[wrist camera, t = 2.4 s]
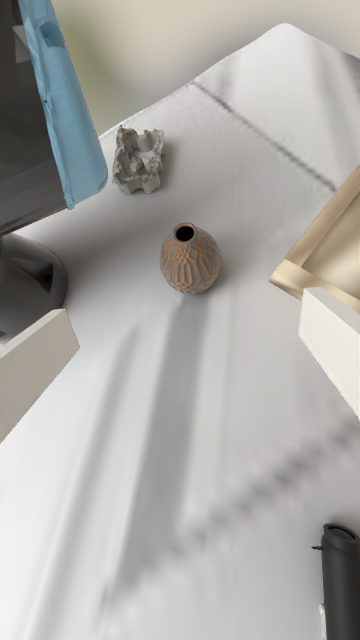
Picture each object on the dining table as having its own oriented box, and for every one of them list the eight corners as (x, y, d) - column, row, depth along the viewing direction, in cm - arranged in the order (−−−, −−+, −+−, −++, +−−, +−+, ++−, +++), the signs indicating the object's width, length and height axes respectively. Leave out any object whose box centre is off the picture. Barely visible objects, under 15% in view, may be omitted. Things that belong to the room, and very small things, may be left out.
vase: (157, 282, 30) (134, 241, 22) (189, 245, 31) (180, 192, 23) (197, 311, 28) (190, 278, 20) (230, 271, 29) (237, 223, 21)
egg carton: (128, 149, 39) (118, 122, 35) (170, 146, 38) (164, 118, 34) (115, 197, 36) (102, 174, 32) (160, 196, 35) (153, 172, 31)
